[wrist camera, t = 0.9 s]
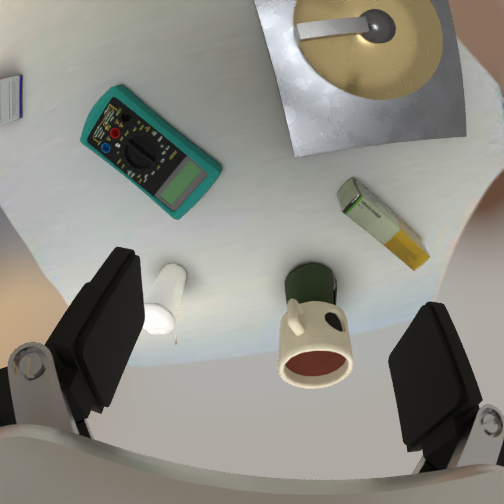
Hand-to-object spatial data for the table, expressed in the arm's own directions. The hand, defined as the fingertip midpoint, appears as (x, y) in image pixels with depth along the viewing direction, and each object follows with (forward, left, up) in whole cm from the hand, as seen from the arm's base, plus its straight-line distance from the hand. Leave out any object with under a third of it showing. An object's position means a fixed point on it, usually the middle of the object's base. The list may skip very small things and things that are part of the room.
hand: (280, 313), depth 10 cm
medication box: (+11, +9, -23) cm, 27 cm away
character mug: (+18, 0, -23) cm, 29 cm away
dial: (-9, +10, -21) cm, 25 cm away
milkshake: (+14, -16, -23) cm, 31 cm away
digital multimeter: (-2, -13, -24) cm, 27 cm away
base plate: (-9, +10, -23) cm, 26 cm away
